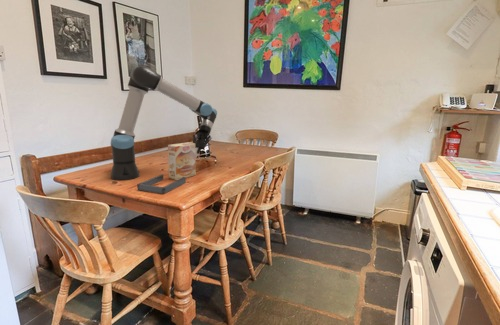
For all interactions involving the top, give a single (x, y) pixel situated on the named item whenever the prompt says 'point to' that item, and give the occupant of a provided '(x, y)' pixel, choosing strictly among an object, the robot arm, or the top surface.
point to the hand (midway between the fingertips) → (194, 157)
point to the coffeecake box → (181, 160)
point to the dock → (162, 190)
